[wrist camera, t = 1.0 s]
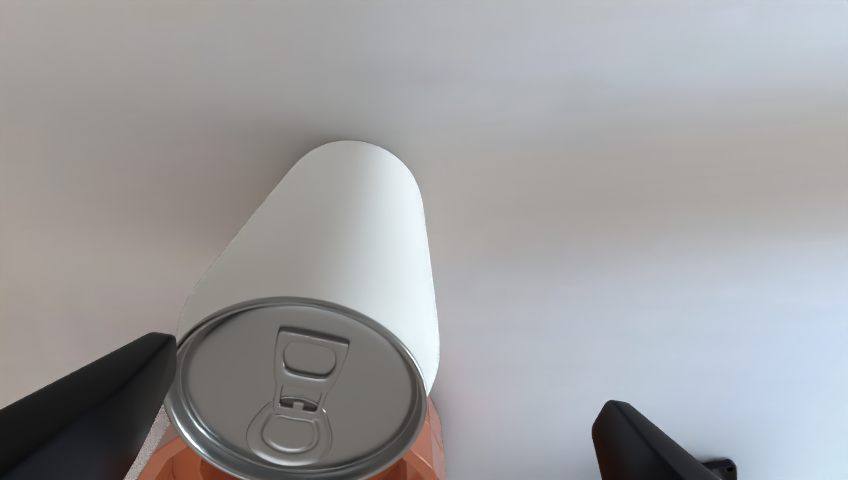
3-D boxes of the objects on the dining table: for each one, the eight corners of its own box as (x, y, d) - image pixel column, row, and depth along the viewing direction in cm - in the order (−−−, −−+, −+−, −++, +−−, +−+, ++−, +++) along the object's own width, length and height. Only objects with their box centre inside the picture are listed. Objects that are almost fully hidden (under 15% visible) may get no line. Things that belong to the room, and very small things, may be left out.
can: (274, 248, 21) (135, 482, 10) (296, 119, 18) (141, 242, 7) (401, 278, 22) (402, 517, 11) (440, 160, 19) (490, 321, 8)
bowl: (468, 474, 29) (482, 565, 24) (263, 528, 30) (236, 625, 25) (388, 296, 22) (384, 371, 17) (130, 377, 24) (59, 467, 19)
